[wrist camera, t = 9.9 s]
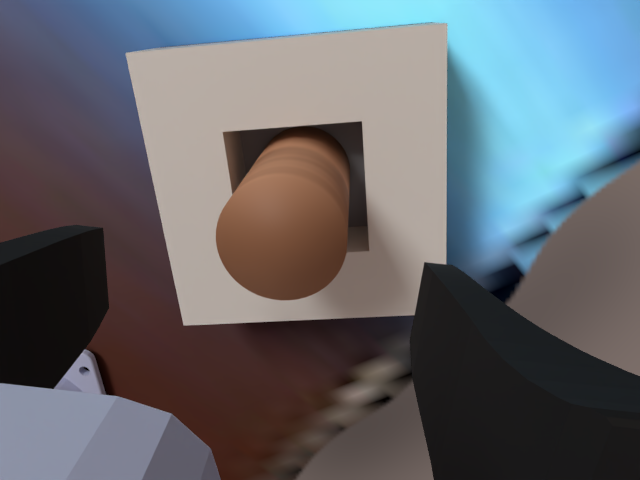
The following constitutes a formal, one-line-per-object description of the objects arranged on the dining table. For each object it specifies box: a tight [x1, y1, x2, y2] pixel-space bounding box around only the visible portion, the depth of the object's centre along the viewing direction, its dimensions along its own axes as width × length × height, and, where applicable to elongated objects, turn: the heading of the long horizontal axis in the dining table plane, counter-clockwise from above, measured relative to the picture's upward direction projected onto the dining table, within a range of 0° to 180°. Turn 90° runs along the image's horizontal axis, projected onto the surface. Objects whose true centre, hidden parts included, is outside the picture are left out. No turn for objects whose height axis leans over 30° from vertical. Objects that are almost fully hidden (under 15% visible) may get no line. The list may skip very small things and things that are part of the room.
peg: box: [216, 126, 350, 300], centre depth 17 cm, size 4×4×7 cm
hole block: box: [126, 22, 447, 325], centre depth 20 cm, size 10×10×4 cm
